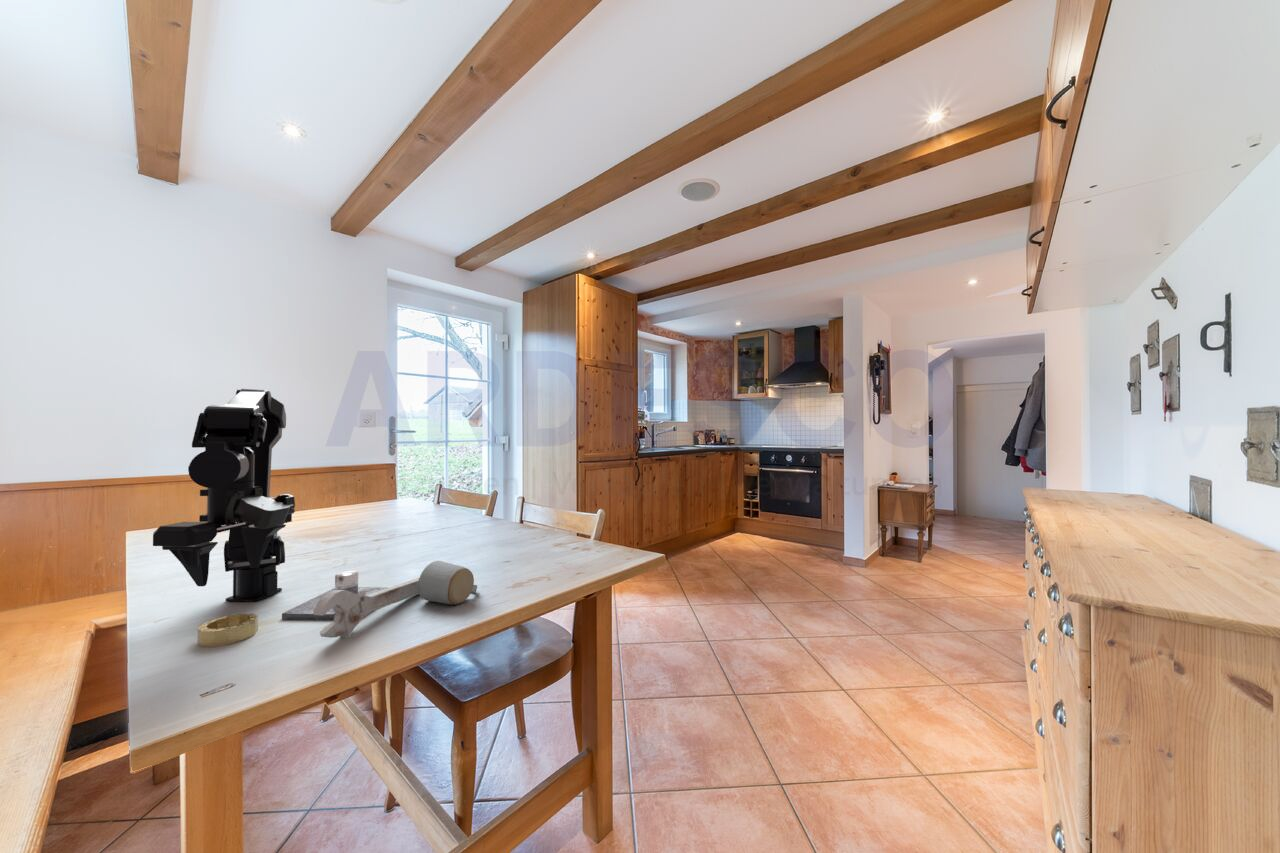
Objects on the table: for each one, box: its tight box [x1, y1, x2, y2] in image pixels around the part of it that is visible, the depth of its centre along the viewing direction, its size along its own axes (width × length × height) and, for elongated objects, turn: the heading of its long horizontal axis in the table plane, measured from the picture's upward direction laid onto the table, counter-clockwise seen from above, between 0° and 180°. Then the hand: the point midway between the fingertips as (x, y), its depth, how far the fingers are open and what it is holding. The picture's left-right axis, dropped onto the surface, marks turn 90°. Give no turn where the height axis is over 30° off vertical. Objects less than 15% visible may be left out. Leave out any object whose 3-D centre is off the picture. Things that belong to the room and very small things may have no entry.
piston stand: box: [281, 570, 391, 621], centre depth 87 cm, size 14×14×6 cm
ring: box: [197, 612, 259, 648], centre depth 73 cm, size 7×7×2 cm
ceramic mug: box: [418, 560, 478, 606], centre depth 90 cm, size 11×8×8 cm
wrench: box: [314, 576, 420, 639], centre depth 83 cm, size 8×2×30 cm
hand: (230, 576), depth 74 cm, fingers open, 9 cm apart
